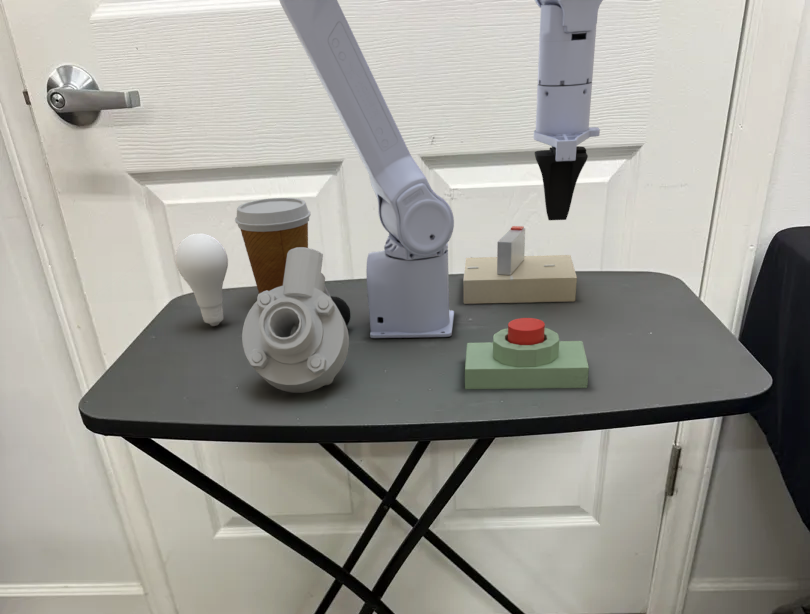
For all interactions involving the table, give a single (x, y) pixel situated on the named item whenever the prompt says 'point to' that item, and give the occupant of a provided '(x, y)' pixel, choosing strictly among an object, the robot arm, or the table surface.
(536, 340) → the button
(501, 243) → the red-topped grey block
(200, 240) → the lightbulb
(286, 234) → the disposable coffee cup
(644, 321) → the table surface
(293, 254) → the centrifugal pump
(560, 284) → the tan base
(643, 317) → the table surface
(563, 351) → the button box
